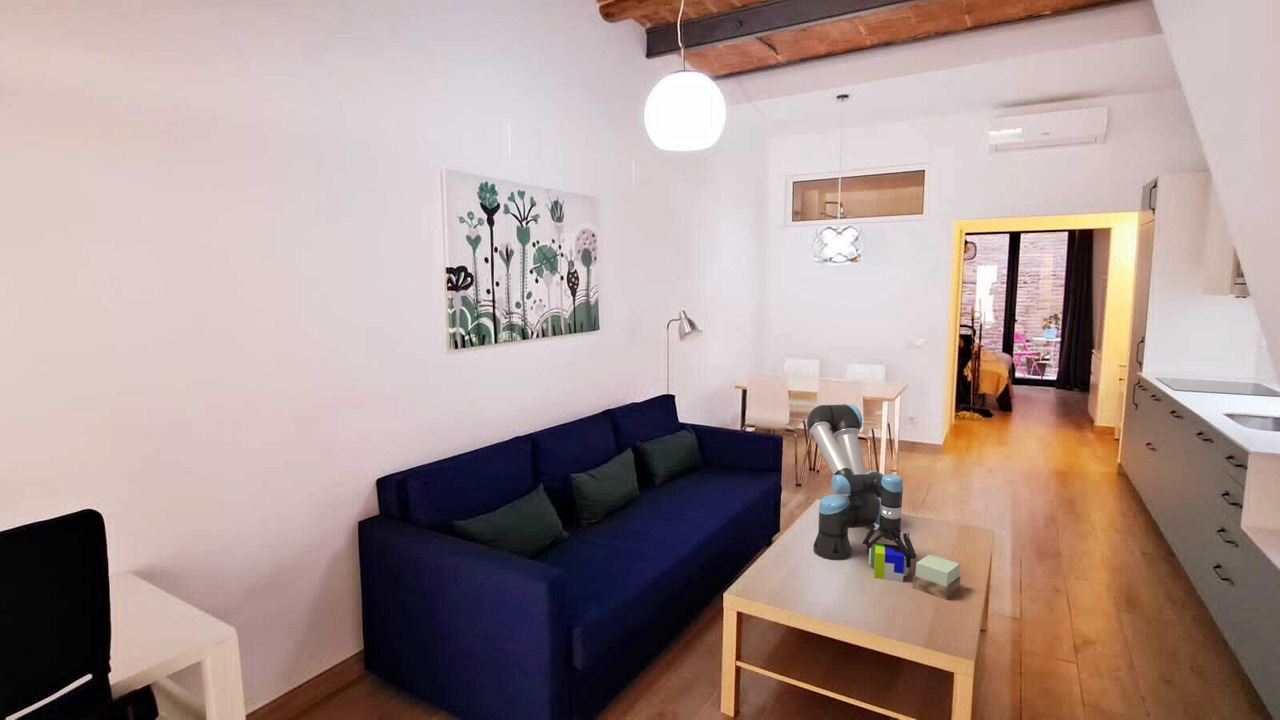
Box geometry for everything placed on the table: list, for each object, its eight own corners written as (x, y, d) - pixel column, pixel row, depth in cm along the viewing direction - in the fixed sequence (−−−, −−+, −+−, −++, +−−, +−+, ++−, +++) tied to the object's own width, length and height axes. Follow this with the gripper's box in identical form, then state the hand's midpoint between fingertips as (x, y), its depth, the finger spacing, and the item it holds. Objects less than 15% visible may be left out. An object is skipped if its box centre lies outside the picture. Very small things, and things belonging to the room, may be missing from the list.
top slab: (915, 575, 230) (916, 562, 229) (928, 566, 237) (929, 554, 237) (946, 586, 222) (947, 573, 221) (958, 576, 229) (959, 563, 229)
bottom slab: (912, 589, 230) (913, 576, 230) (926, 578, 239) (926, 566, 238) (946, 601, 222) (947, 587, 221) (959, 589, 230) (960, 576, 229)
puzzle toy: (902, 582, 235) (904, 556, 234) (874, 578, 238) (875, 552, 237) (901, 570, 244) (902, 546, 243) (873, 567, 248) (875, 542, 247)
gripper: (855, 509, 247) (852, 561, 249) (919, 527, 229) (916, 583, 232) (864, 505, 252) (861, 556, 255) (927, 522, 234) (924, 576, 237)
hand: (887, 569), depth 243 cm, fingers open, 13 cm apart
